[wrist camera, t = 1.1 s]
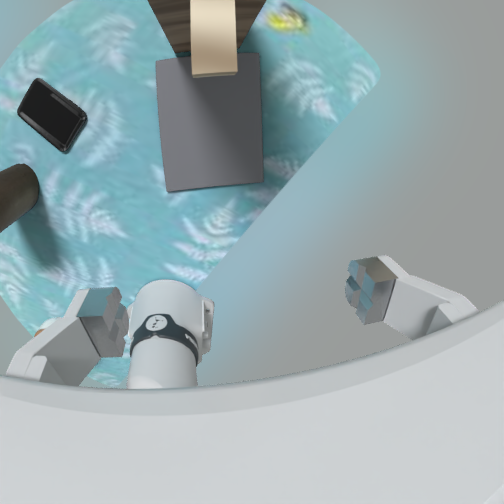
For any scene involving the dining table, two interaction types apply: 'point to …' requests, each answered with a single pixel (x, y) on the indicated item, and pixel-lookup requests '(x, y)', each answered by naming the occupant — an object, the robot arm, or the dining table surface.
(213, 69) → the beech spatula
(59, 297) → the dining table surface
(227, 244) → the dining table surface
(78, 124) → the phone
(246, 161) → the rubber mat
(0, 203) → the pillar candle
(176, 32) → the walnut stand
